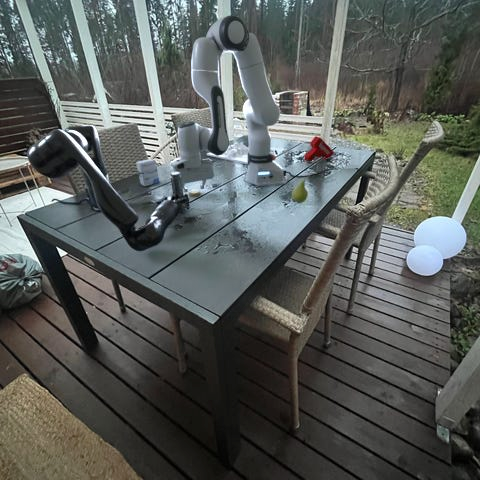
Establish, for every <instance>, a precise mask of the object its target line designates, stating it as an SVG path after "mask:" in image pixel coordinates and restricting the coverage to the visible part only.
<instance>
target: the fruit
mask: <svg viewBox="0 0 480 480" xmlns="http://www.w3.org/2000/svg"><path fill="white" fill-rule="evenodd" d="M308 175H309V176H308V177H305V179H302V180H301V181H300V182H298V184H297V185H296V186H295V187H294V188H293V190H292V191H291V198H292V200H293V201H294V202H295V203H297V204H301V203H304V202H305V201H306V200H307V198H308V196H309V195H308V190H307V189H306V184H305V183H306V180H308V179H309V178H310V177H311V176H310V175H311V174H308Z"/></svg>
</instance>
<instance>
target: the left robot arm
mask: <svg viewBox="0 0 480 480" xmlns="http://www.w3.org/2000/svg"><path fill="white" fill-rule="evenodd" d="M100 143H101V142H100V138H99V133H98V132H97V129H96V127H95V126H94V125H92V124H86V125H72V126H71V125H70V126H68V127H66V128H65V129H64V130H62V129H59V128H55V129H52V130H51V131H50V132H48V133H47V134H46V135H44V136H42V137H41V138H40V139H39V140H37V141H35V142H34V143H33V144H32V145H31V146H30V147H29V148H28V149H27V152H26V157H27V160H28V162H29V165H30V166H31V168H32V169H34V170H35V172H36V173H38V174H39V175H41V176H43V177H45V178H47V179H51V180H59V179H62V178H64V177H66V176H67V175H68V174H70V173H71V172H72V171H74V170H75V169H76V168H77V167H79V169H80V173H81V175H82V177H83V181H84V184H85V187H84V192H85V194H86V197H85V198H83V199H80V200H79V201H78V202H77V201H76V202H73V201H71V202H70V201H63V200H61V199H58V198H52V199H51V200H50V202H54V201H56V202H59V203H61V204H67V205H79V204H81V203H82V202H84V201H86V203H87V204H88V205H89V206H90V209H91V210H94V211H95V212H101V213H102V215H103V216H104V217H105V218H106V219H107V220H108V221H110V223H112V224H113V225H114V226H115V227H116V228H117V229H118V231H119V232H120V234H121V235H122V237H123V239H124V240H125V242H126V243H127V245H128V246H129V247H130V248H131V249H132V250H134V251H136V252H144V251H146V250H149V249H151V248H154V247H155V246H158V245H159V244H161V242H162V241H163V240H164V237H165V233H166V230H167V229H168V228H169V226H171V225H172V224H173V222H174V221H175V220H176V218H177V217H178V216H179V215H180V214H179V212H180V210H182V209H183V208H185V209H186V211H189V210H191V202H190V198H189V194H188V193H184V196H183V197H182V198H179V199H177V200H174V198H173V193H172V194H171V195H169V196H163V197H161V198H159V199H158V200H156V201H155V205H156V208H155V209H154V210H153V212H152V213H151V214H150V216H148V218H147V219H146V221H145V224H144V225H143V226H140V227H138V228H137V227H136V224H137V223H138V222H139V217H140V216H139V214H138V212H136V210H134V208H132V207H131V205H130V204H129V203H128V202H126V200H125V199H123V197H122V196H121V195H120V194H119V193H118V191H116V189H115V188H114V186H112V184H111V181H110V178H109V174H108V170H107V165H106V162H105V159H104V156H103V152H102V148H101V144H100ZM88 152H92V154H91V155H88Z"/></svg>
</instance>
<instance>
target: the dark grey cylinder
mask: <svg viewBox="0 0 480 480" xmlns="http://www.w3.org/2000/svg"><path fill="white" fill-rule="evenodd" d="M170 178H171V180H170V184H171V191H172V194H173V198H174V200H177V199H179V198H182V197H183V196H184V195H185V193H184V190H183V186H182V178H181V175H180V172H172V173H171V177H170V176H169V179H170ZM186 211H187V208H183V209H182V210H180V212H179V214H178V215H183V214H185V213H186Z"/></svg>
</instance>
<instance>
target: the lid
mask: <svg viewBox="0 0 480 480" xmlns="http://www.w3.org/2000/svg"><path fill="white" fill-rule="evenodd" d="M200 193H201V192H200V190H199V189H195V188H194V189H190V190H188V196H190V197H198V196H200Z"/></svg>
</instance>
